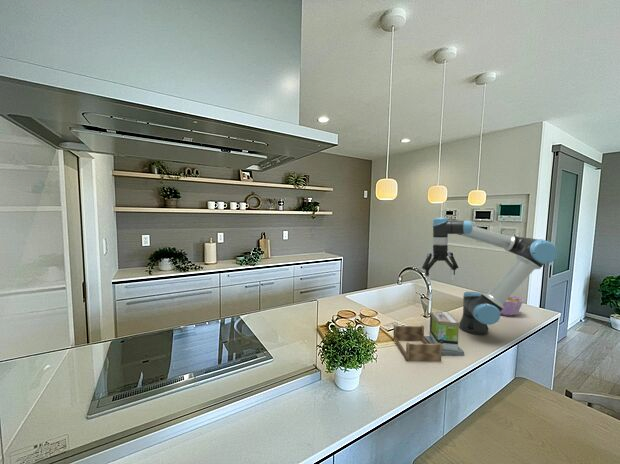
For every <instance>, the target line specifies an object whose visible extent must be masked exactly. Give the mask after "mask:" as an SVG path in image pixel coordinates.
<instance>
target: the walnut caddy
mask: <svg viewBox="0 0 620 464" xmlns="http://www.w3.org/2000/svg"><path fill="white" fill-rule="evenodd" d="M392 332H393V337H392V338H393V339H394V340H395V342H396V343H395V342H394V343H395V345H396V346H397V348H398V350H399V351H400V353H401V354H402V355H403V357H404V359H405V361H406V362H442V356H441V354H442V344H441V343H438V344H429V343H428V342H427V341H426V340H425V338H424V336H425V326H424V325H415V326H414V325H396V324H394V325H393V331H392ZM393 339H392V340H393ZM394 340H393V341H394ZM401 342H406V343H405V344H406V345H405V347H403V345H402V344H401ZM409 342H421V343H409Z"/></svg>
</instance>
